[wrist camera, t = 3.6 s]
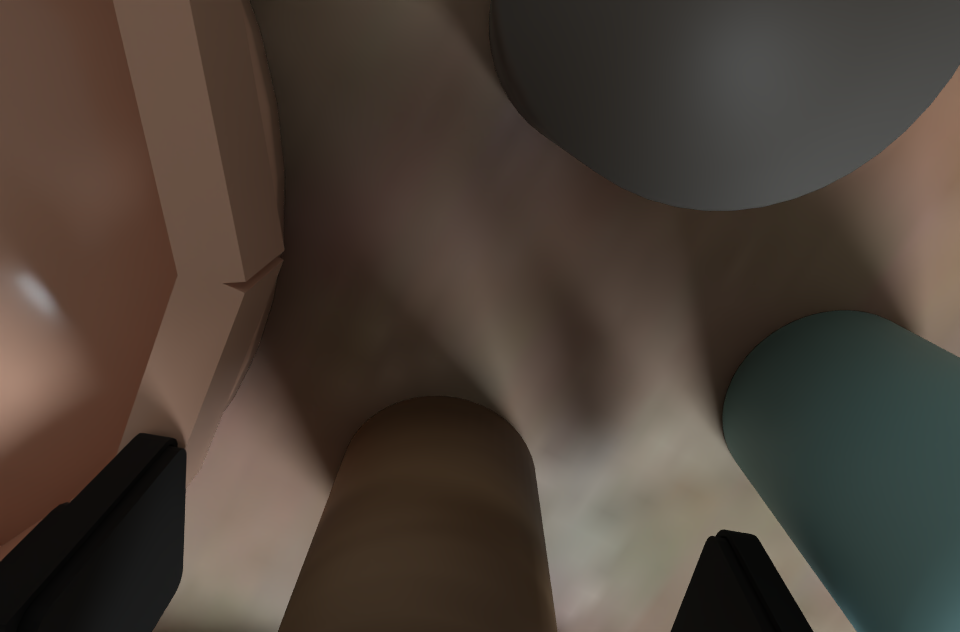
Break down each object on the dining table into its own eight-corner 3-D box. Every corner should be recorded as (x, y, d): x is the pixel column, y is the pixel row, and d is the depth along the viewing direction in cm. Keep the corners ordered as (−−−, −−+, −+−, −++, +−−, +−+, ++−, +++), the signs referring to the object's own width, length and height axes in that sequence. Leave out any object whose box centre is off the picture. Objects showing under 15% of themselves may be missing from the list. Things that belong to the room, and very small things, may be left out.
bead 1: (572, 506, 14) (629, 771, 9) (416, 591, 15) (377, 883, 10) (463, 358, 13) (450, 558, 8) (300, 460, 14) (179, 707, 8)
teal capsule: (962, 431, 14) (1302, 662, 8) (778, 528, 15) (970, 801, 9) (880, 269, 13) (1211, 405, 7) (685, 384, 13) (837, 591, 8)
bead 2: (782, 62, 11) (1084, 32, 6) (571, 199, 12) (649, 294, 6) (664, -185, 10) (899, -535, 4) (440, -14, 11) (394, -125, 5)
